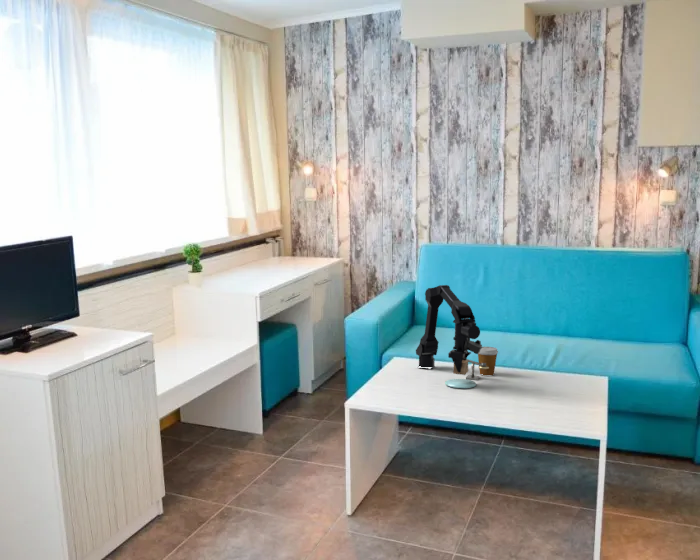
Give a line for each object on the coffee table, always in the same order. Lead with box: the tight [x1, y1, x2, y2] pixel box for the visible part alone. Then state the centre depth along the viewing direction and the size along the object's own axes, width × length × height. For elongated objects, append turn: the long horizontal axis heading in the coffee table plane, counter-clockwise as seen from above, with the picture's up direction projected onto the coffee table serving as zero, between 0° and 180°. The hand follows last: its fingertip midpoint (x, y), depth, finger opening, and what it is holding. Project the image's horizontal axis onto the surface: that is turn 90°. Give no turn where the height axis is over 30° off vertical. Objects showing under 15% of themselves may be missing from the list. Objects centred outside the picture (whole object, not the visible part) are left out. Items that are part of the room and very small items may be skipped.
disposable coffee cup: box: [477, 346, 499, 376], centre depth 305 cm, size 10×10×12 cm
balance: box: [465, 358, 489, 381], centre depth 298 cm, size 14×5×9 cm, turn 65°
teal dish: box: [445, 378, 477, 389], centre depth 288 cm, size 13×13×1 cm
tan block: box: [453, 360, 469, 376], centre depth 287 cm, size 5×5×5 cm
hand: (460, 370), depth 287 cm, fingers closed on tan block, 5 cm apart
